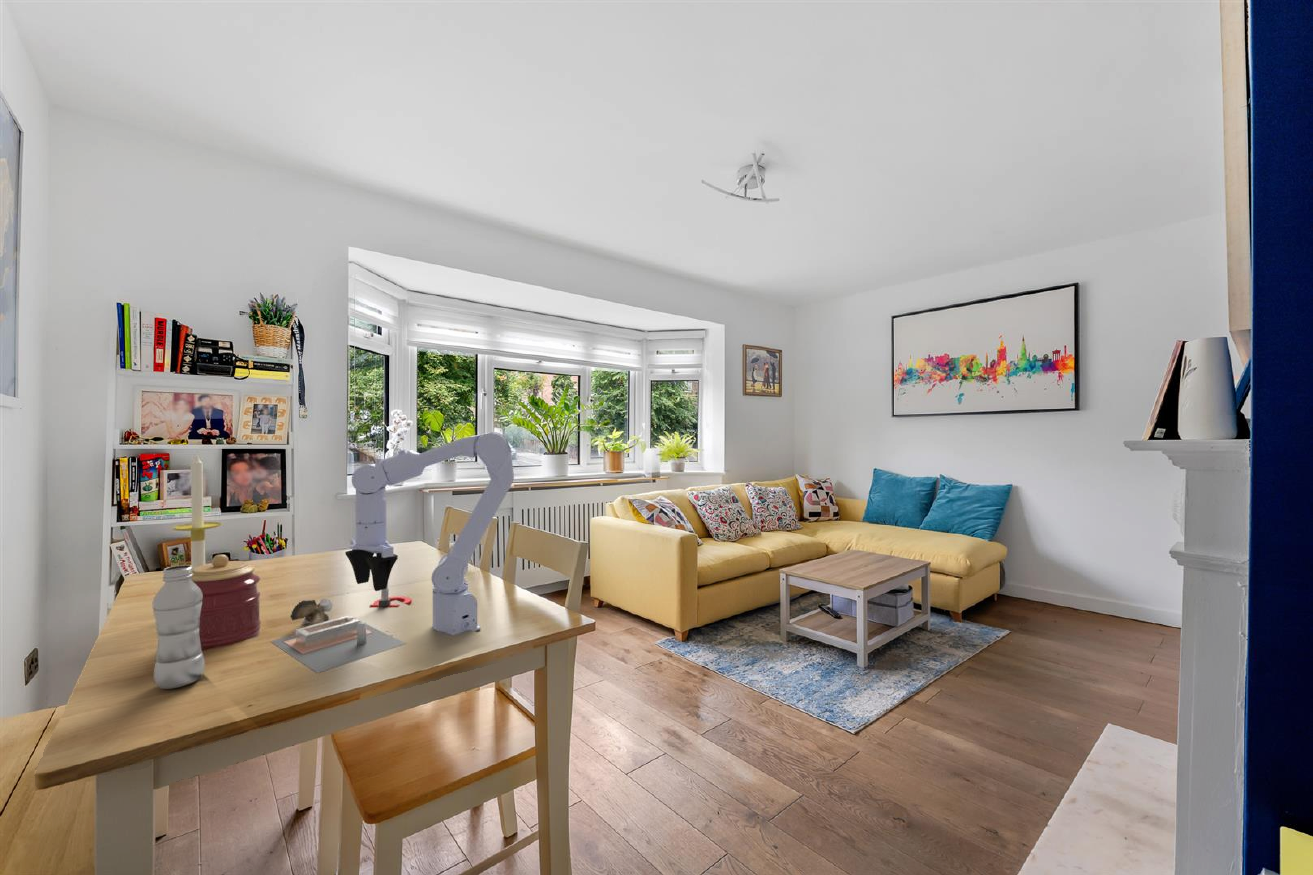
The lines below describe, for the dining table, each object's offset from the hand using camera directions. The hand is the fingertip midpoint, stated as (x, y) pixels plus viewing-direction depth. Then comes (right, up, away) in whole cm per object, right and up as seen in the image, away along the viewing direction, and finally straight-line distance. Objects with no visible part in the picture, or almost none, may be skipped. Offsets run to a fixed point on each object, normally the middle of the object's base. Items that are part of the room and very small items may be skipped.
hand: (371, 586), depth 113 cm
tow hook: (-5, -10, +19) cm, 22 cm away
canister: (-29, -10, -3) cm, 31 cm away
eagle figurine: (-15, -10, +4) cm, 19 cm away
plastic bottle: (-21, -11, -21) cm, 32 cm away
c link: (-7, -9, -4) cm, 12 cm away
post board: (-3, -11, -6) cm, 13 cm away
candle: (-47, -10, +13) cm, 50 cm away
